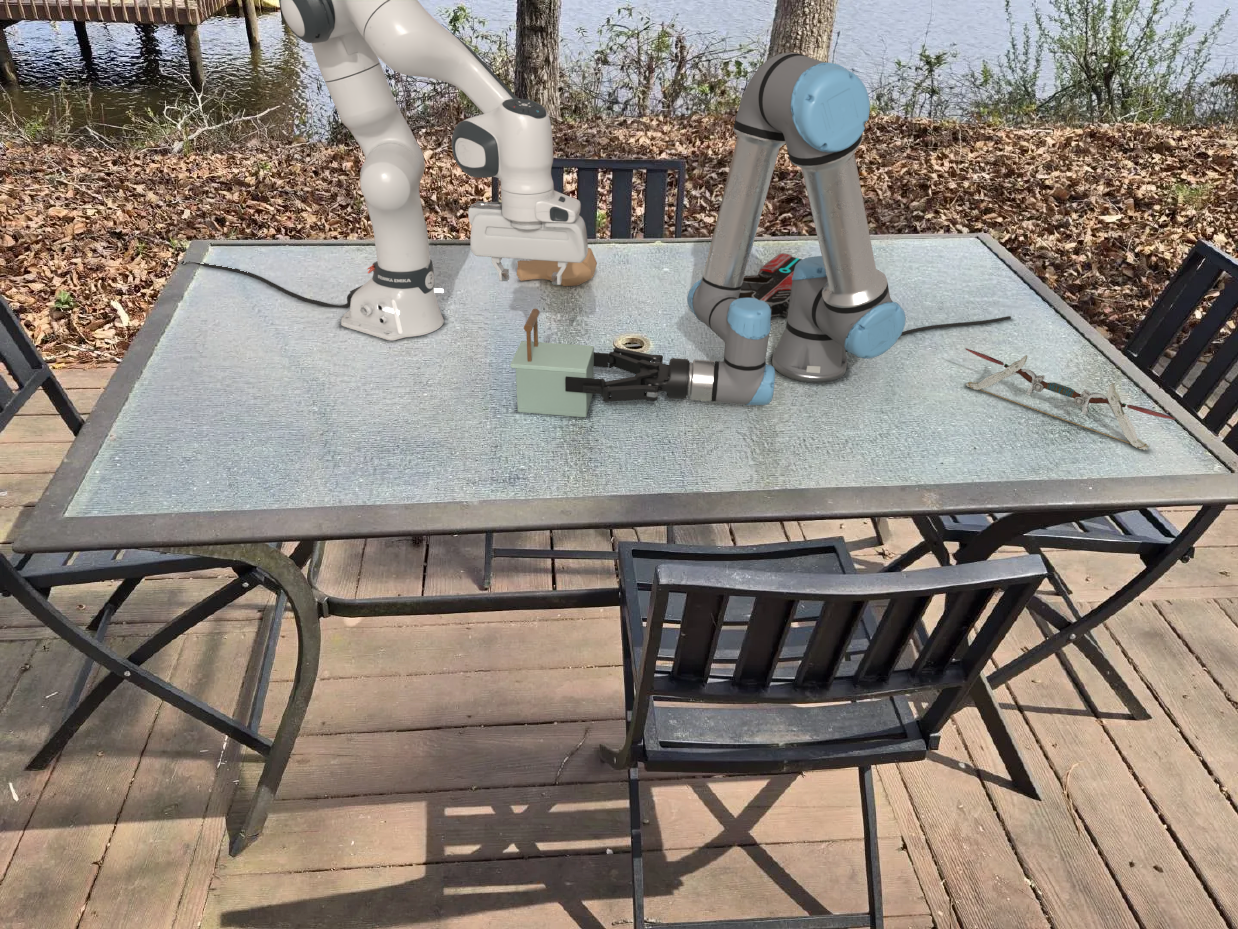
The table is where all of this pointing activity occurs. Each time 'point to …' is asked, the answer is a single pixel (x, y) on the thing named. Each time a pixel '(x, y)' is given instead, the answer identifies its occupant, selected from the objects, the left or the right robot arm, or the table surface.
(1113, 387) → the bow
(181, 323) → the table surface
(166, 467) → the table surface
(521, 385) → the chest
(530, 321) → the lid
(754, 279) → the gun
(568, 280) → the squash
